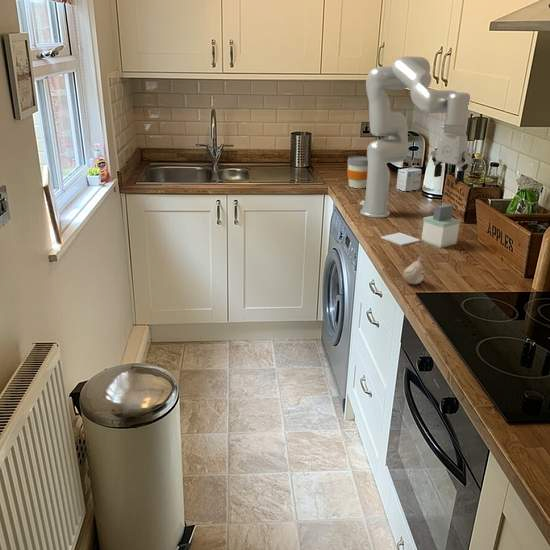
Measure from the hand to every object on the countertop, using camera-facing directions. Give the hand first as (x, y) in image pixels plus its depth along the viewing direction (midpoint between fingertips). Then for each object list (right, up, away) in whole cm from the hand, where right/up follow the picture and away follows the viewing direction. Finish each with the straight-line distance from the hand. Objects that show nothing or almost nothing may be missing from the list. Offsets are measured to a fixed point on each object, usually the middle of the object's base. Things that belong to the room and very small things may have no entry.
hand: (448, 179), depth 199 cm
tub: (-1, -22, +9) cm, 24 cm away
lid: (0, -15, +6) cm, 16 cm away
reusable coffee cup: (-19, +11, +89) cm, 92 cm away
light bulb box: (+6, +9, +87) cm, 88 cm away
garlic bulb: (-20, -37, -28) cm, 50 cm away
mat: (-15, -21, +11) cm, 28 cm away
